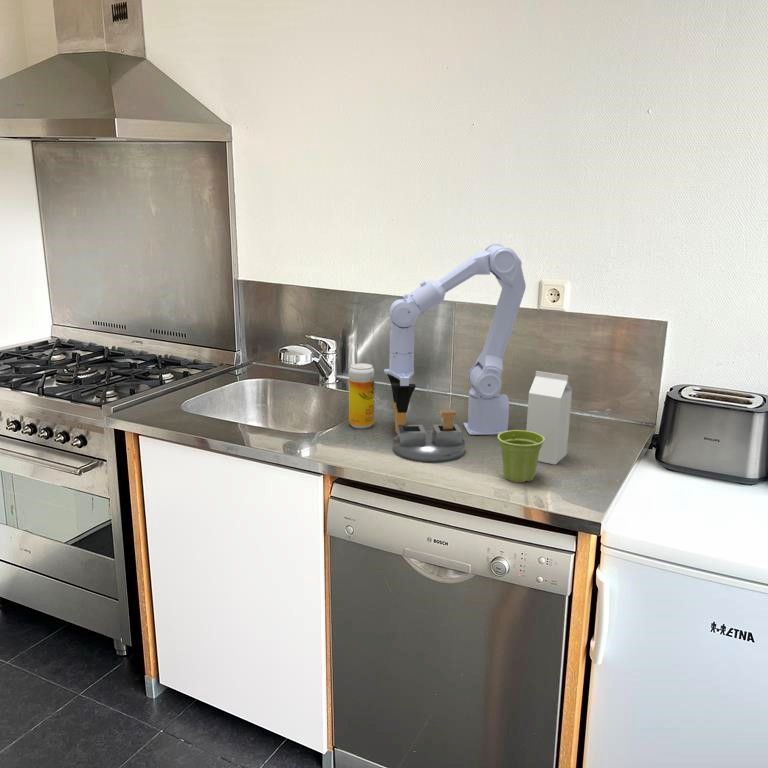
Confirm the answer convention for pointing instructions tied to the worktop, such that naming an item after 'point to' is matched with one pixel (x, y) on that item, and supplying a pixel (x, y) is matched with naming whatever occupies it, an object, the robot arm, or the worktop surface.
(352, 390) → the beer can
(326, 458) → the worktop surface
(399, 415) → the wedge pin
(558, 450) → the milk carton
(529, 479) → the plant pot
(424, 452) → the two socket peg base
